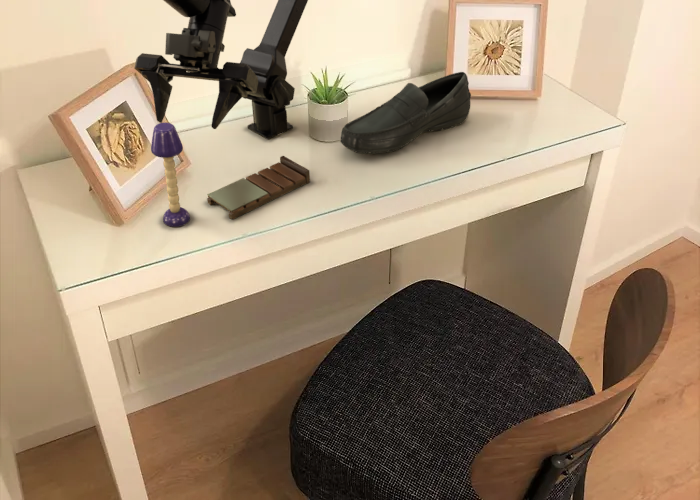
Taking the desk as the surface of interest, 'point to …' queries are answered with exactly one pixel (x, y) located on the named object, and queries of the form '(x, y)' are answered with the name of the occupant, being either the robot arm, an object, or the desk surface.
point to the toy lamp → (170, 170)
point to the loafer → (410, 115)
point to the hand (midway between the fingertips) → (186, 125)
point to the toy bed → (260, 187)
